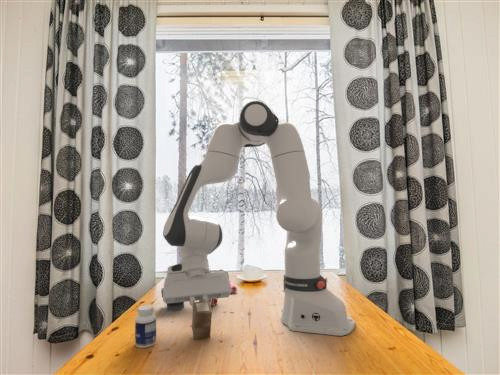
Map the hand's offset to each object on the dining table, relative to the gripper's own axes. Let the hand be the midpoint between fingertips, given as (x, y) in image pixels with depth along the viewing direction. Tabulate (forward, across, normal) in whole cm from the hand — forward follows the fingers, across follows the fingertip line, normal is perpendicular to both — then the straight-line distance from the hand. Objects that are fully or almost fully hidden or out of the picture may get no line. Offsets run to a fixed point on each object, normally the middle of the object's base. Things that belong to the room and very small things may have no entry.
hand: (199, 312), depth 92 cm
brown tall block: (+4, 0, -4) cm, 6 cm away
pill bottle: (+5, +15, -4) cm, 16 cm away
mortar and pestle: (-15, +4, -24) cm, 29 cm away
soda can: (-15, -7, -24) cm, 29 cm away
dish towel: (-28, -9, -38) cm, 48 cm away
